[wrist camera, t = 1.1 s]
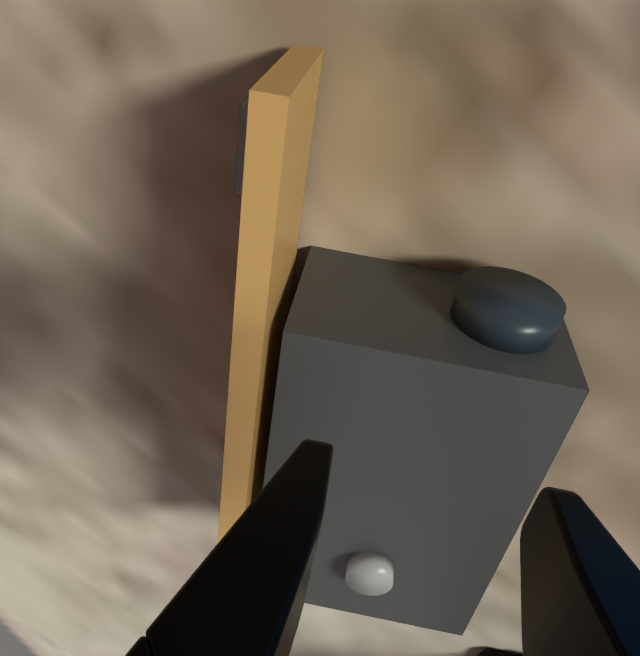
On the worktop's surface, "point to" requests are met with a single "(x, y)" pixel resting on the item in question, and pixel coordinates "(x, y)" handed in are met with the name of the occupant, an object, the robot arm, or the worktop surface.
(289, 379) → the action camera body
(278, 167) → the side door
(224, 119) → the worktop surface
